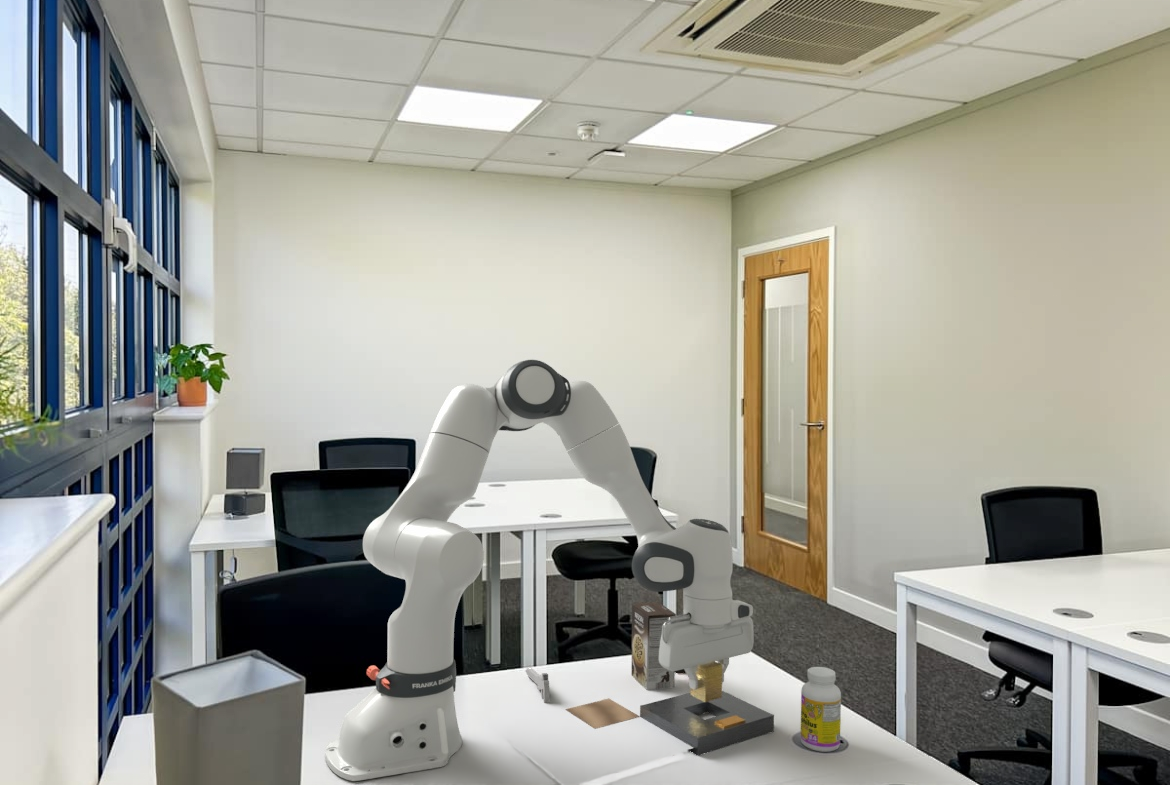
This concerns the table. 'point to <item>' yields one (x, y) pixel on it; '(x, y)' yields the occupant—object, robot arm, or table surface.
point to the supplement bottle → (820, 710)
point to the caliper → (540, 683)
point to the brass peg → (709, 682)
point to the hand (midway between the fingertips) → (706, 685)
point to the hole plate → (708, 721)
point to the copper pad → (602, 713)
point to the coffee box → (649, 645)
